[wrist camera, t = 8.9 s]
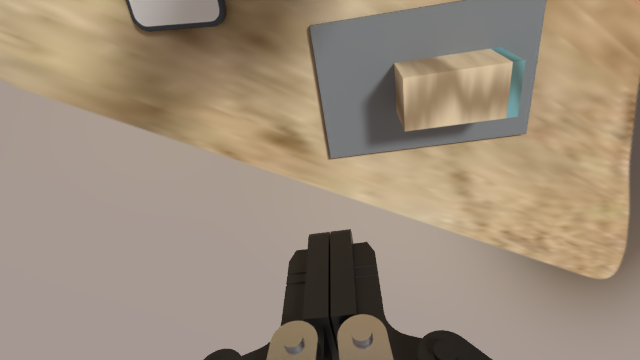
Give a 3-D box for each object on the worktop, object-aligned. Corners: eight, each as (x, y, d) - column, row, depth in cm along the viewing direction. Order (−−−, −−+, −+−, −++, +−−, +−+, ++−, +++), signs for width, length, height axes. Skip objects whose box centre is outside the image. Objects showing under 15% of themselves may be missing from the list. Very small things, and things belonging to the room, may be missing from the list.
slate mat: (309, 25, 34) (309, 26, 34) (545, -14, 32) (548, -13, 32) (330, 156, 41) (330, 158, 41) (523, 131, 39) (526, 133, 39)
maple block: (402, 78, 31) (525, 60, 30) (394, 63, 35) (501, 46, 34) (404, 131, 34) (517, 116, 33) (396, 111, 38) (496, 97, 37)
